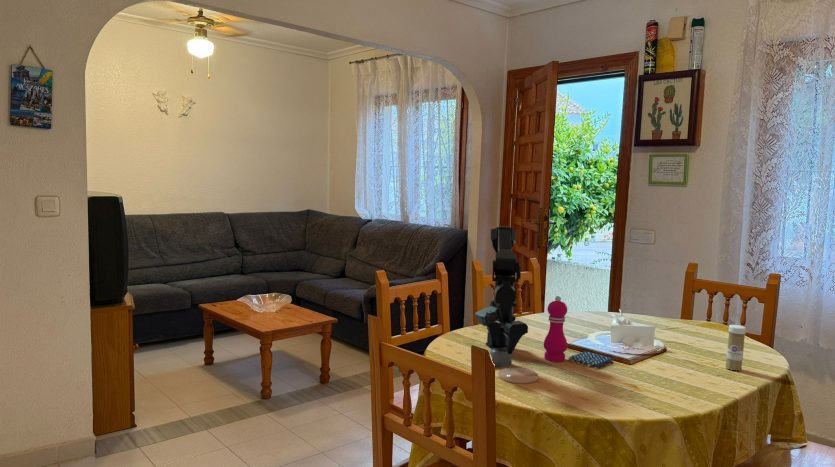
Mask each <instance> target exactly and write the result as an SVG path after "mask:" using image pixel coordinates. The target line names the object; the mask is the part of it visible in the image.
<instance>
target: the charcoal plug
mask: <svg viewBox="0 0 835 467" xmlns="http://www.w3.org/2000/svg"><path fill="white" fill-rule="evenodd" d="M490 355H491V358H492V361H493V363H494V364H495V367H494V368H503V367H505V368H506V367H510V366H513V364H512V363H513V353H512V354H508V351H507V348H505V347H503V348H494V349H493V348H491V349H490V352H489V356H490Z"/></svg>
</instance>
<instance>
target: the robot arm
mask: <svg viewBox="0 0 835 467" xmlns="http://www.w3.org/2000/svg"><path fill="white" fill-rule="evenodd" d="M489 232H490V234H489V242H490V243H491V250H492V251H493V253H494V259H492V265H491V281H492V282H494V290H493V291H494V293H493V294H494V295H493V300H491V301H490V302H489V306H487V307H484V308H482V309H480V310H478V311H476V312H475V318H476V321H477V323H478V324H479V325H481V326H482V327H486V330H487V334H486V335H487V337H486V342H485V345H487V346H489V347H490V348H491V349H494V348H503V347H505V348H507V351H508V354H512V355H513V352H514V350H515V348H516V347H517V345H518V344H519V342H520V340H521V338H522V337H523V336H525V335H526V334H528V333H529V325H528V324H527V323H525V322H523V321H521V320H516V316H515V314H514V307H517V302H515V301H516V300H517V293H516V290H515V283H519V281H520V280H521V264H520V262H519V261H518V260H517V254H516V253H514V252H513V248H514V244H516V242H517V241H516V240H517V229H516V230H515V229H513V227H511V226H509V225H507V226H506V225H498V226H496V227H495V228H492V229H490V231H489Z"/></svg>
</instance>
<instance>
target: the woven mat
mask: <svg viewBox="0 0 835 467" xmlns="http://www.w3.org/2000/svg"><path fill="white" fill-rule="evenodd" d="M567 360H568V361H567V362H568V363H574V364H577V365H581V366H584V367H587V368H590V369H594V370H598V369H601V368H603V367H605V366H608V365H610V364H614V361H613V360H614V358H612V357H609V356H608V357H607V356H605V355H601V354H597V353H592V352H590V351H586V350H585V351H582V352H579V353H577V354H574V355H571V356H569V357H567Z"/></svg>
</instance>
